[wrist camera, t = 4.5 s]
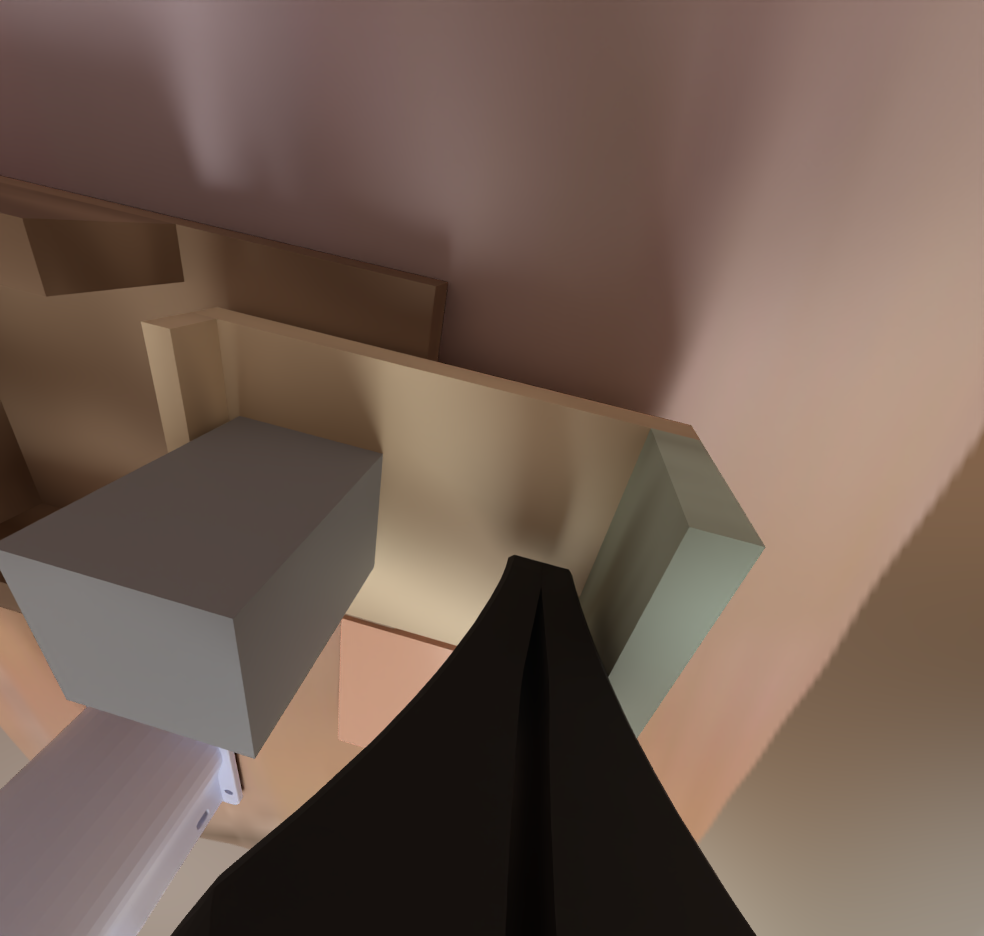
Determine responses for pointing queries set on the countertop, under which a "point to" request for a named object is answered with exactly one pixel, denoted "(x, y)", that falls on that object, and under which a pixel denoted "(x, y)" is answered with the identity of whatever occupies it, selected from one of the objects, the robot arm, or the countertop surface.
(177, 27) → the countertop surface
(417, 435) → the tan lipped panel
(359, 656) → the terracotta tile
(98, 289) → the brown tray
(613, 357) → the countertop surface
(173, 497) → the grey block
